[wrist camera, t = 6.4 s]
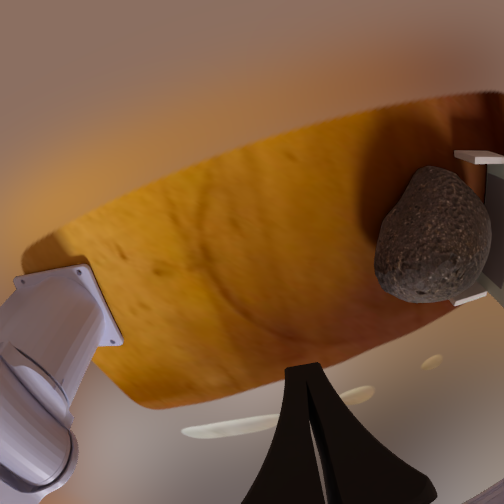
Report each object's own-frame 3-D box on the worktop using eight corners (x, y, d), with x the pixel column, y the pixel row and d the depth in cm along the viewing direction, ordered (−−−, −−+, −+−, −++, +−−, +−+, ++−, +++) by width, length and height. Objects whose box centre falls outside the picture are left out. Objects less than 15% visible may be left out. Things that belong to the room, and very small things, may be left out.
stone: (444, 174, 22) (445, 122, 13) (498, 253, 19) (534, 240, 10) (363, 238, 26) (326, 219, 18) (412, 318, 23) (400, 342, 14)
